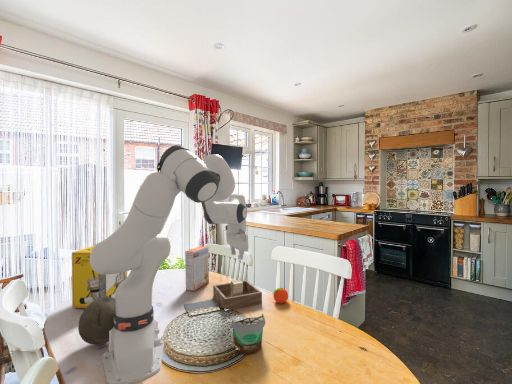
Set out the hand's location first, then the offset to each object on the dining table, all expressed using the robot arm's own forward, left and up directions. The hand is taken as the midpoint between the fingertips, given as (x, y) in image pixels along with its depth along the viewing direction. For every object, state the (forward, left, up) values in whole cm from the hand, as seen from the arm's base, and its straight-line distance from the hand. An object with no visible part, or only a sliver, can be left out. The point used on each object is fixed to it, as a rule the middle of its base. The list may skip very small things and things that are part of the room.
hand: (236, 256), depth 127 cm
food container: (-39, +10, -21) cm, 45 cm away
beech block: (0, 0, -21) cm, 21 cm away
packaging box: (+28, +59, -21) cm, 69 cm away
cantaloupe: (-11, +52, -6) cm, 53 cm away
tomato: (-11, -17, -21) cm, 29 cm away
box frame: (0, 0, -21) cm, 21 cm away
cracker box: (+26, +13, -21) cm, 36 cm away
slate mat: (-1, +17, -21) cm, 27 cm away
